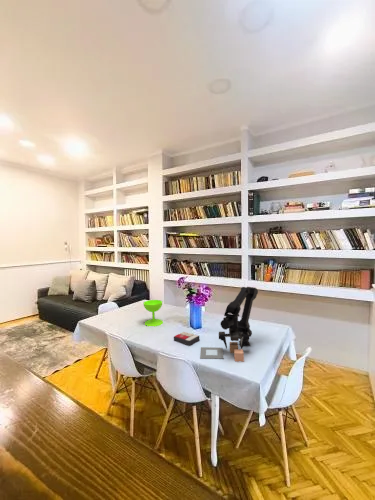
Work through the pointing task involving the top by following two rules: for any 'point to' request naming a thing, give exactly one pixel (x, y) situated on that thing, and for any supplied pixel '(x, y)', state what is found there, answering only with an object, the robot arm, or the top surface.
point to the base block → (233, 346)
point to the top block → (239, 355)
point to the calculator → (186, 338)
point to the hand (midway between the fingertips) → (233, 348)
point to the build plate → (211, 353)
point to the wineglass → (153, 307)
